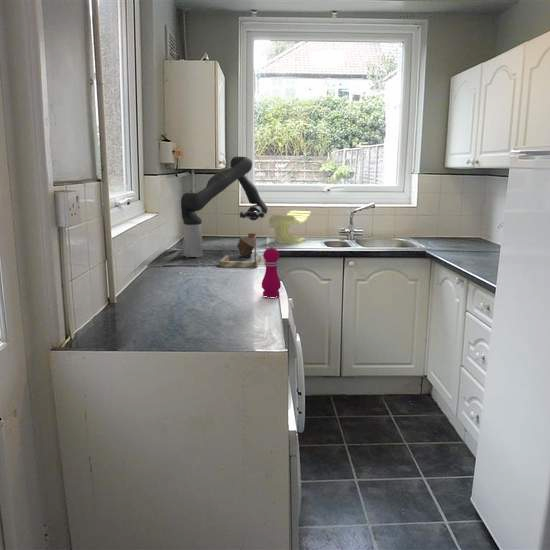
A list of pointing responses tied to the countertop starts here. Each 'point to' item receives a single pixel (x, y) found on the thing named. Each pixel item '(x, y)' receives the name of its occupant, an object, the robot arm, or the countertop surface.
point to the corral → (227, 263)
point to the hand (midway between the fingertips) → (249, 216)
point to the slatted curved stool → (284, 222)
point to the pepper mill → (271, 273)
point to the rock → (245, 246)
